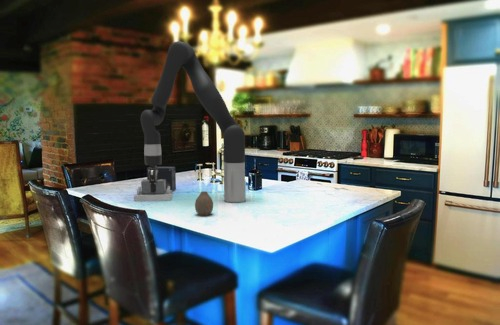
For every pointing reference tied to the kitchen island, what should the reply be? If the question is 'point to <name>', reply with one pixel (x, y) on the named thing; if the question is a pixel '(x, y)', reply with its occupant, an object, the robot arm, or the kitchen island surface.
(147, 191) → the block
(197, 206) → the vase
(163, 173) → the small box
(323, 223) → the kitchen island surface
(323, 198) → the kitchen island surface
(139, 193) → the tray
